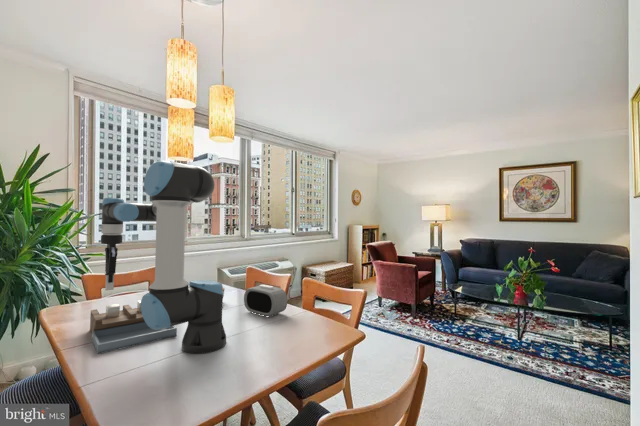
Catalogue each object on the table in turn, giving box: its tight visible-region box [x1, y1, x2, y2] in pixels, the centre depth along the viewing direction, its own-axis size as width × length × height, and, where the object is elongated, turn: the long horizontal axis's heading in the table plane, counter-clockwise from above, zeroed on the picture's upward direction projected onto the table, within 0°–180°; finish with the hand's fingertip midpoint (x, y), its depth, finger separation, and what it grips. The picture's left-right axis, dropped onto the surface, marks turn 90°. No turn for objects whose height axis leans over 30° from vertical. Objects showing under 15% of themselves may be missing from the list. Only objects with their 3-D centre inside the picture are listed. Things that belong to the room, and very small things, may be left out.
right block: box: [136, 300, 141, 313], centre depth 129 cm, size 4×4×4 cm
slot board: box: [89, 304, 145, 335], centre depth 124 cm, size 15×24×8 cm, turn 133°
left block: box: [105, 303, 121, 318], centre depth 121 cm, size 4×4×4 cm
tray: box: [91, 322, 178, 354], centre depth 115 cm, size 16×25×3 cm, turn 133°
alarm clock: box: [243, 284, 288, 317], centre depth 149 cm, size 21×10×13 cm, turn 56°
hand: (109, 289), depth 128 cm, fingers closed
